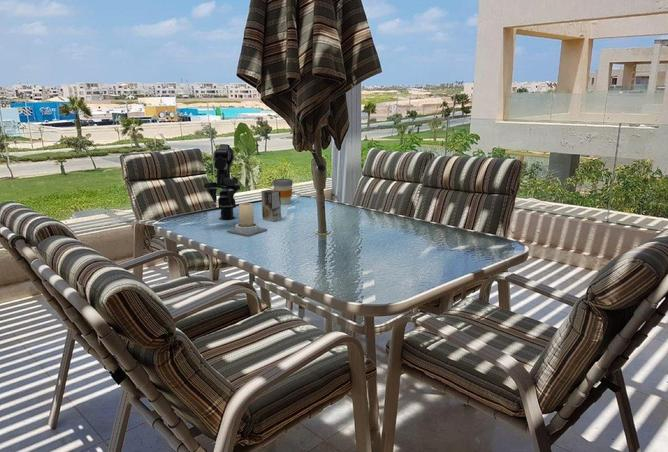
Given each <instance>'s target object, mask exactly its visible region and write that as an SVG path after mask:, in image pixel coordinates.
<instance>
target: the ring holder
mask: <svg viewBox="0 0 668 452" xmlns="http://www.w3.org/2000/svg"><path fill="white" fill-rule="evenodd" d="M267 231H268V228H265V227H259V224H258V223H257V222H254V226H253V227H240V222H238V223H236V224H235V228H231V229H229V230H226V232H227V233H228V234H232V235H237V236H243V237H247V238H248V237H252V236H255V235H259V234H262V233H265V232H267Z"/></svg>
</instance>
